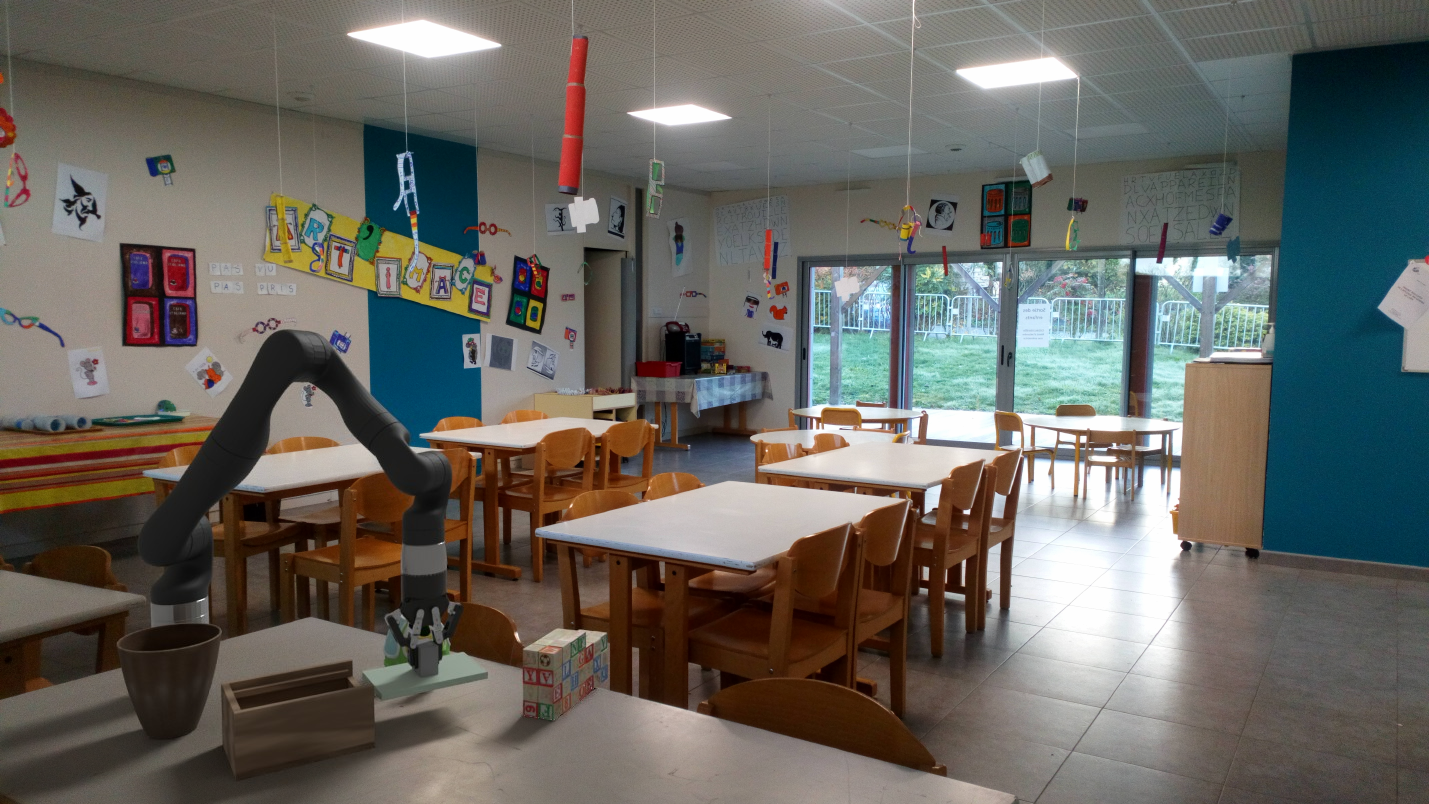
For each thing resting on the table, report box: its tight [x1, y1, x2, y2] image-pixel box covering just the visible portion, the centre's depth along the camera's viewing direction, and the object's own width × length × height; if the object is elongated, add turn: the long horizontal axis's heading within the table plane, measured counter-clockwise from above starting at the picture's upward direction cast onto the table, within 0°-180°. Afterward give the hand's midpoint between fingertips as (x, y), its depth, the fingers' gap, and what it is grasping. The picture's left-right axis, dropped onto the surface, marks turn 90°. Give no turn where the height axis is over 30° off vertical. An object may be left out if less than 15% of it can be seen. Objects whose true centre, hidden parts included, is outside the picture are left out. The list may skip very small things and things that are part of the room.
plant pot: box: [116, 623, 222, 740], centre depth 152 cm, size 15×15×16 cm
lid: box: [361, 638, 489, 702], centre depth 158 cm, size 12×18×6 cm, turn 125°
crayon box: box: [220, 658, 376, 781], centre depth 147 cm, size 15×20×10 cm
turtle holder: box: [383, 615, 451, 667], centre depth 177 cm, size 12×18×12 cm
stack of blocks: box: [522, 628, 609, 721], centre depth 168 cm, size 21×6×12 cm, turn 161°
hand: (424, 664), depth 158 cm, fingers closed on lid, 3 cm apart
